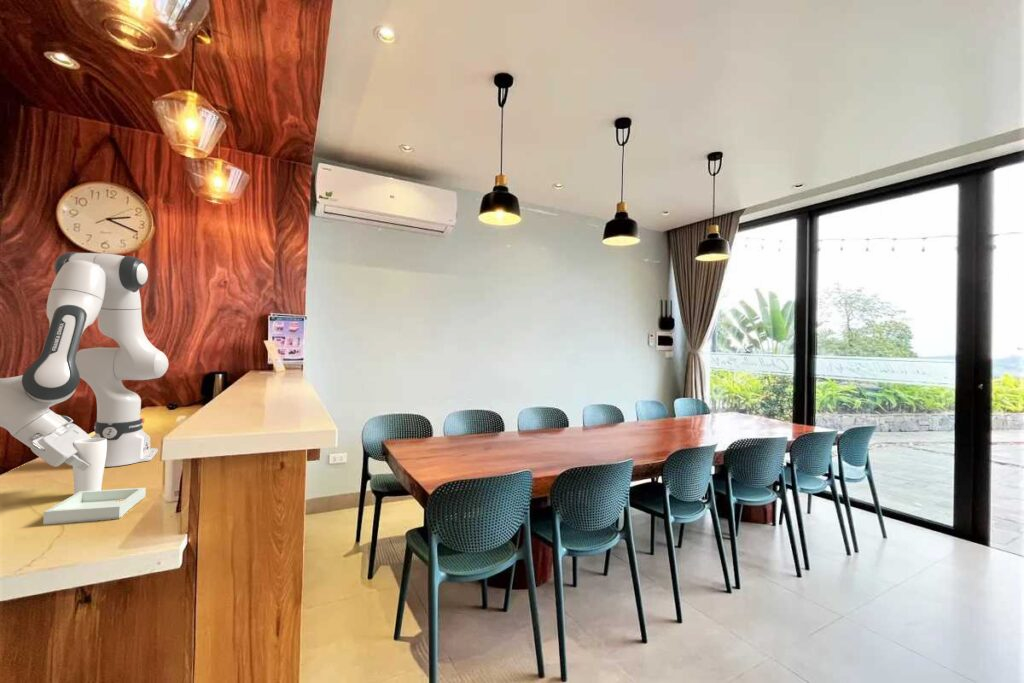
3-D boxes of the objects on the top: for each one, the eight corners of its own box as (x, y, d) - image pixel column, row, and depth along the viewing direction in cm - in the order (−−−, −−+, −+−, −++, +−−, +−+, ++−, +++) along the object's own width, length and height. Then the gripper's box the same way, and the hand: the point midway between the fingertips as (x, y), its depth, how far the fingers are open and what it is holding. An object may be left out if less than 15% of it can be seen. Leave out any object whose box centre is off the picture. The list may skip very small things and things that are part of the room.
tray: (79, 502, 113) (79, 491, 113) (145, 498, 118) (145, 487, 118) (43, 524, 100) (43, 511, 100) (119, 518, 105) (119, 506, 105)
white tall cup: (104, 489, 123) (106, 436, 123) (105, 496, 118) (107, 441, 118) (70, 494, 118) (73, 439, 118) (69, 501, 114) (72, 444, 114)
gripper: (38, 429, 106) (90, 465, 111) (70, 415, 124) (114, 446, 129) (11, 449, 104) (65, 485, 109) (47, 432, 122) (93, 463, 126)
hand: (92, 464), depth 119 cm, fingers closed on white tall cup, 6 cm apart
